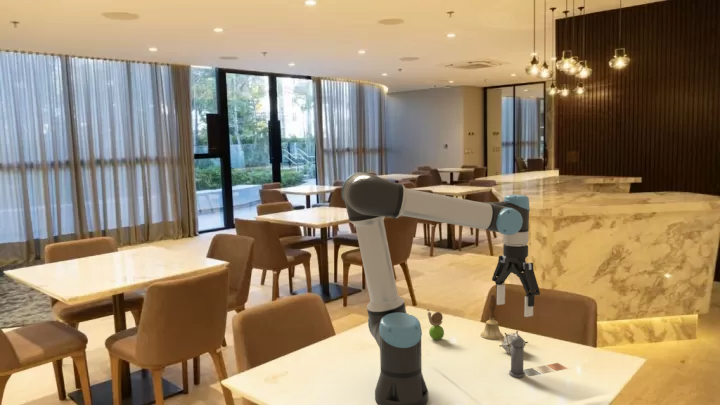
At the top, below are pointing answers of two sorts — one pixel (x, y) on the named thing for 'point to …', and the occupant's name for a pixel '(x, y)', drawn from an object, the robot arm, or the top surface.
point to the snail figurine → (435, 325)
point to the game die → (508, 339)
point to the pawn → (517, 358)
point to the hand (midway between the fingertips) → (514, 310)
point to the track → (542, 369)
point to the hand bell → (492, 323)
